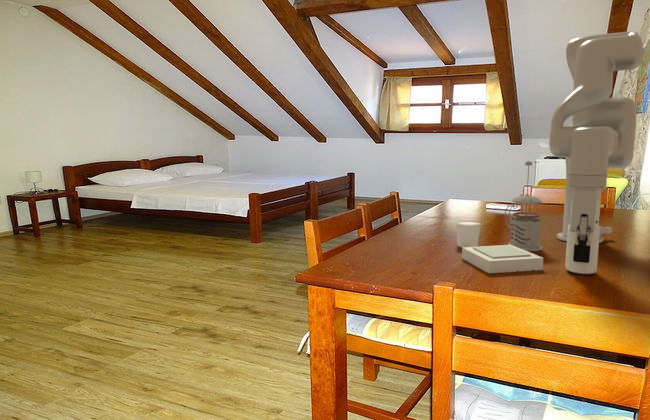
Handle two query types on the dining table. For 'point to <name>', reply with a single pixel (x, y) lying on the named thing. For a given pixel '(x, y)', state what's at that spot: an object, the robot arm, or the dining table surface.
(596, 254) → the can
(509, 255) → the base
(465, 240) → the white cup
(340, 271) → the dining table surface
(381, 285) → the dining table surface
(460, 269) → the dining table surface
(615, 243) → the dining table surface
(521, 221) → the french press
